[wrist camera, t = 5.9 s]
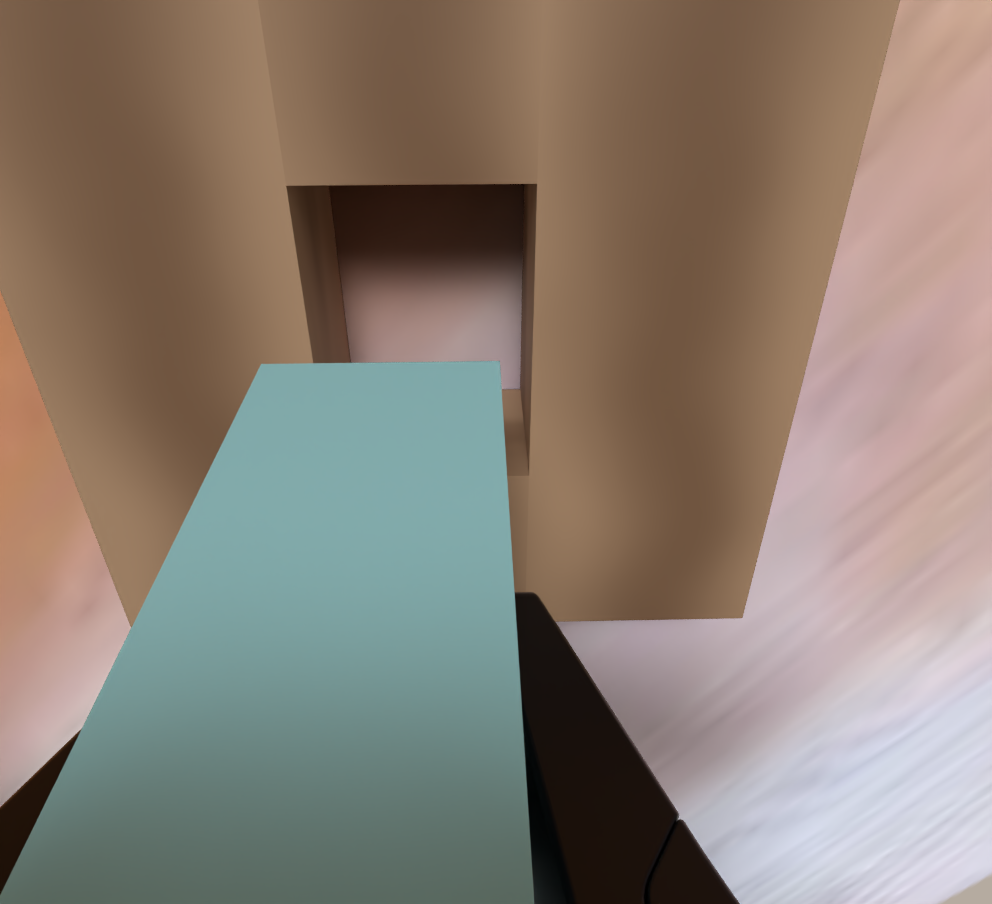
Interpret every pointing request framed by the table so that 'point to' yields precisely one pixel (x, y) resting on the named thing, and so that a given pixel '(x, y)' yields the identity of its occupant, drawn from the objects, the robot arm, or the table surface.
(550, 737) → the robot arm
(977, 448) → the table surface
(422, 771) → the keyed peg
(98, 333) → the socket block
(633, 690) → the table surface
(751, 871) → the table surface
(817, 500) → the table surface
